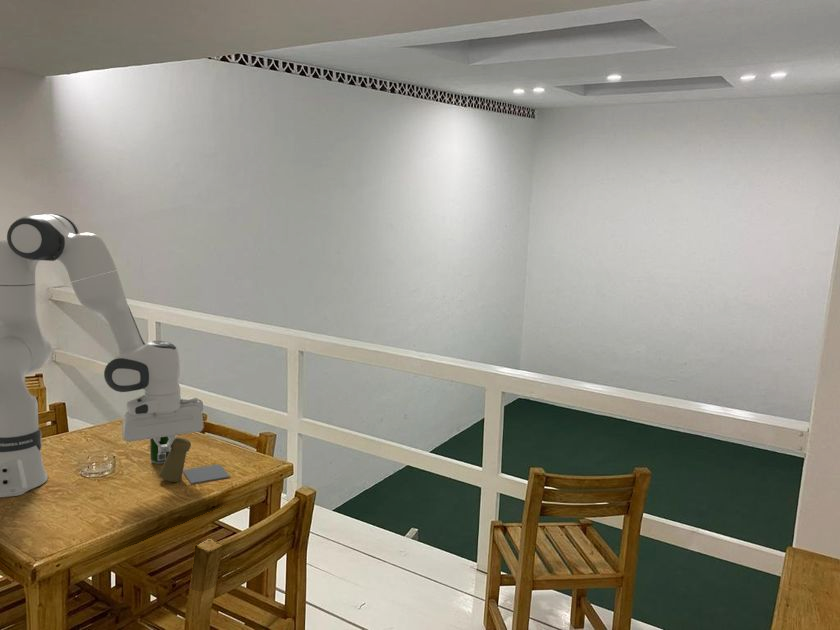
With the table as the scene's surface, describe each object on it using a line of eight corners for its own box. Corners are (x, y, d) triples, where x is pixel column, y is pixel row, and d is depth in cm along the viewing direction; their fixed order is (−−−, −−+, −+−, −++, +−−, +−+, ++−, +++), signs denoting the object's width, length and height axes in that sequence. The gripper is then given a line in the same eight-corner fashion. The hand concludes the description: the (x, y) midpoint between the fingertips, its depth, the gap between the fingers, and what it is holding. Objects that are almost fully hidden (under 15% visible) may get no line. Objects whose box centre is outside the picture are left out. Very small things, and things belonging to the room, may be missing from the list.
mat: (191, 484, 179) (191, 482, 179) (182, 471, 188) (182, 470, 188) (230, 477, 185) (230, 476, 185) (219, 465, 193) (219, 464, 193)
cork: (177, 474, 185) (190, 436, 185) (184, 482, 181) (196, 444, 181) (155, 472, 182) (168, 433, 182) (161, 480, 177) (175, 440, 177)
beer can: (173, 461, 195) (172, 422, 193) (154, 465, 191) (153, 425, 190) (166, 456, 199) (166, 417, 197) (148, 459, 195) (147, 420, 194)
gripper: (200, 394, 185) (200, 442, 187) (120, 403, 174) (121, 454, 176) (206, 400, 180) (206, 449, 182) (123, 409, 169) (125, 462, 171)
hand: (164, 451), depth 179 cm, fingers closed
